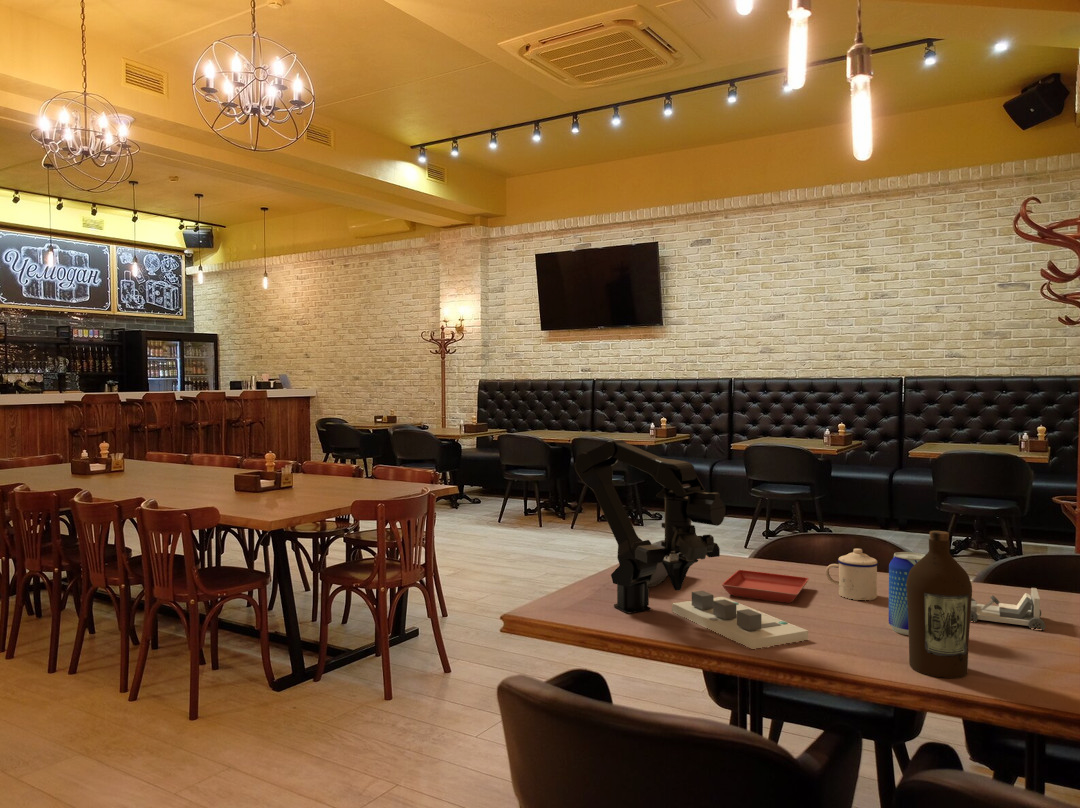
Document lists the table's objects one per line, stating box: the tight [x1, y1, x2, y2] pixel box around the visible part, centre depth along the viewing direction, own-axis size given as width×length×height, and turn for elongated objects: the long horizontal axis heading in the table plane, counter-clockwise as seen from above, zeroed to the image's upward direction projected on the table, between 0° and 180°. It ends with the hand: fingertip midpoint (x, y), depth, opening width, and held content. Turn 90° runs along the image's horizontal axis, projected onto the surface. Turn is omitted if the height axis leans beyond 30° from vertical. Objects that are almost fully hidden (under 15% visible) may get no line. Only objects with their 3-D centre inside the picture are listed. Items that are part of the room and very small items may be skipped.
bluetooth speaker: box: [646, 539, 675, 588], centre depth 204 cm, size 23×9×10 cm, turn 150°
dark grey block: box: [737, 609, 761, 631], centre depth 159 cm, size 3×4×3 cm
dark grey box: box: [713, 599, 736, 620], centre depth 166 cm, size 3×4×3 cm
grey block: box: [691, 590, 715, 610], centre depth 174 cm, size 3×4×3 cm
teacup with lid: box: [825, 548, 879, 602], centre depth 191 cm, size 12×9×12 cm
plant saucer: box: [721, 569, 810, 604], centre depth 195 cm, size 18×18×3 cm
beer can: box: [888, 551, 926, 636], centre depth 163 cm, size 8×8×16 cm
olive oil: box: [906, 530, 973, 679], centre depth 141 cm, size 11×11×25 cm
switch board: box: [671, 596, 809, 650], centre depth 167 cm, size 14×28×2 cm, turn 24°
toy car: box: [970, 579, 1046, 631], centre depth 172 cm, size 18×10×12 cm
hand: (677, 590), depth 171 cm, fingers closed
